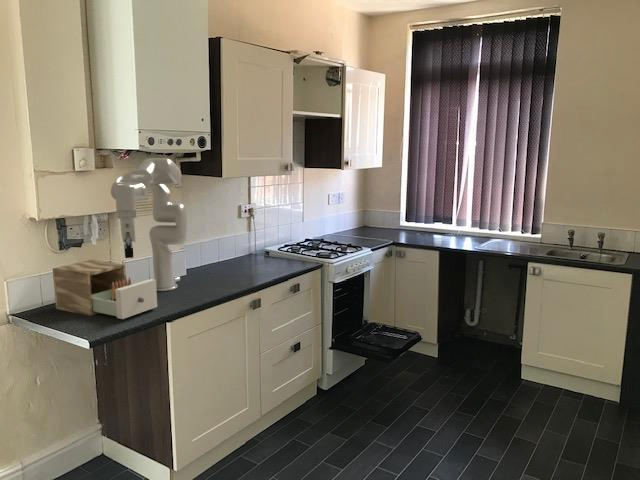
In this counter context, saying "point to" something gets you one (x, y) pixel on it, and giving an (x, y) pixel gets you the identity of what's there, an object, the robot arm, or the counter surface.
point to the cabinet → (84, 284)
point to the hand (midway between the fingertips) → (129, 255)
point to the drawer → (127, 299)
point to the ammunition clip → (118, 285)
